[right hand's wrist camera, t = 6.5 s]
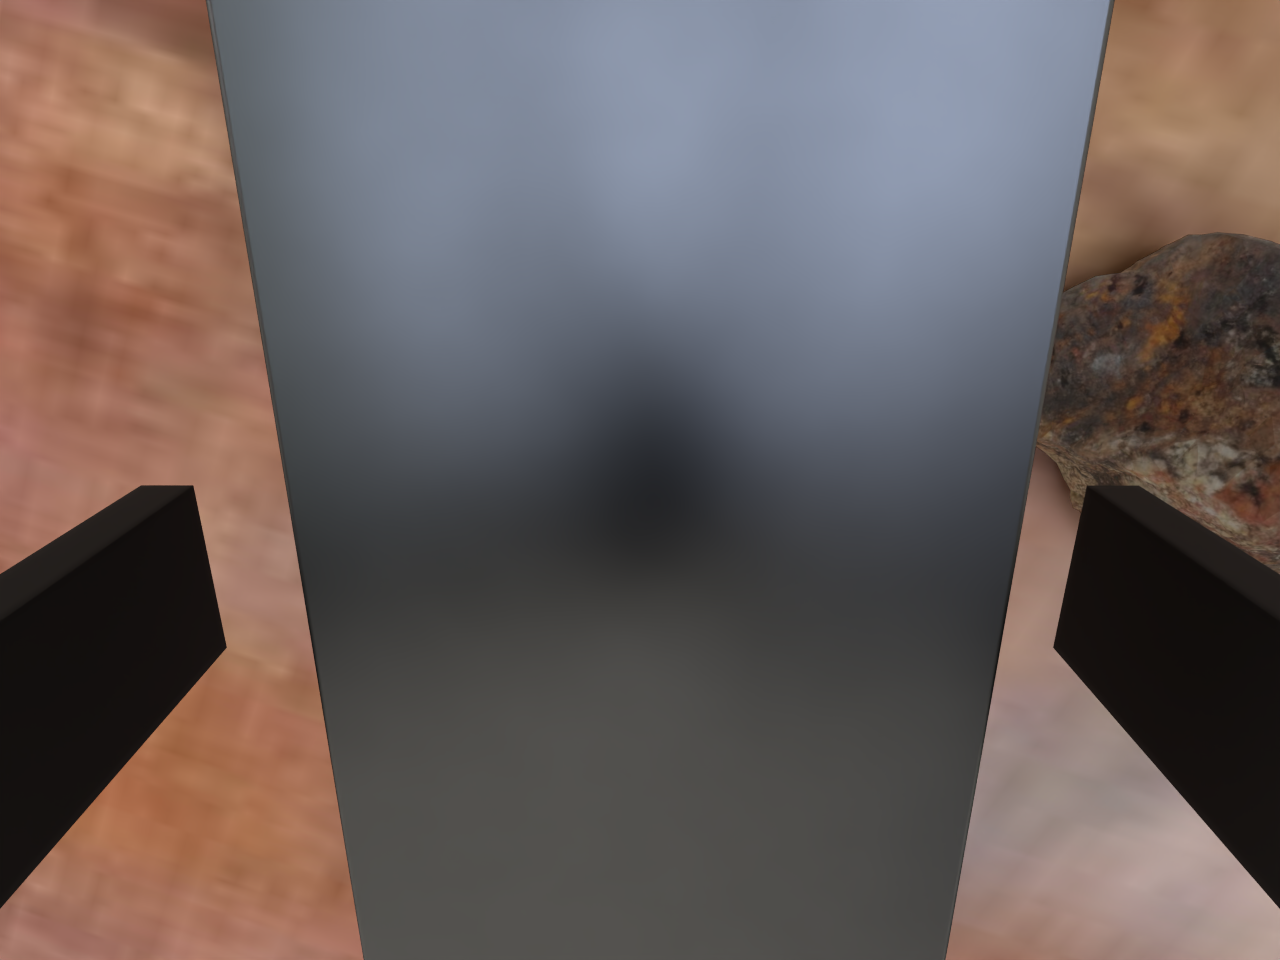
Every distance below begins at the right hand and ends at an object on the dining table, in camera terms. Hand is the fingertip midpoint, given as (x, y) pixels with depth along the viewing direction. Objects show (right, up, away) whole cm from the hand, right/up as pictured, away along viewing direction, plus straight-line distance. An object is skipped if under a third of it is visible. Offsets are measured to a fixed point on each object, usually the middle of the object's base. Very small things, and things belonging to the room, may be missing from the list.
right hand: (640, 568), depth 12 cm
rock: (+18, +3, +13) cm, 23 cm away
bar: (0, +9, 0) cm, 9 cm away
